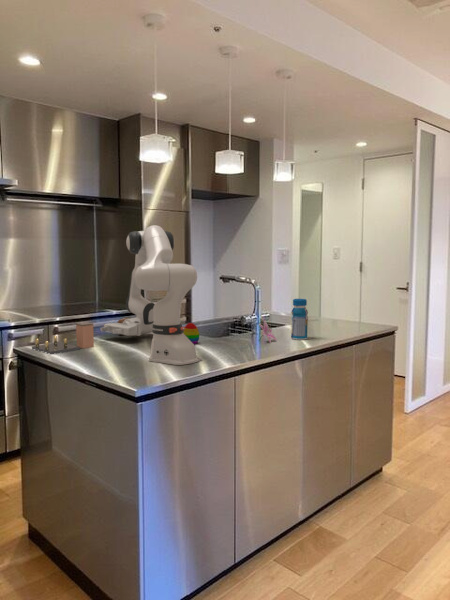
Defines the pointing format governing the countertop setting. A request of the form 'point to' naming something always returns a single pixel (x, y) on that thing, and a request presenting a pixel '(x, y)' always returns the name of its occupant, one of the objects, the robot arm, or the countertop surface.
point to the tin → (122, 322)
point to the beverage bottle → (299, 319)
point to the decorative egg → (191, 332)
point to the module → (85, 335)
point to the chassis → (55, 346)
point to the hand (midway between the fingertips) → (106, 330)
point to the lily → (267, 332)
